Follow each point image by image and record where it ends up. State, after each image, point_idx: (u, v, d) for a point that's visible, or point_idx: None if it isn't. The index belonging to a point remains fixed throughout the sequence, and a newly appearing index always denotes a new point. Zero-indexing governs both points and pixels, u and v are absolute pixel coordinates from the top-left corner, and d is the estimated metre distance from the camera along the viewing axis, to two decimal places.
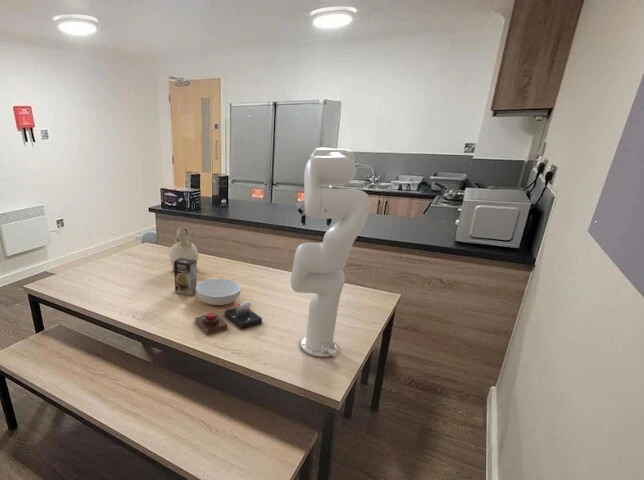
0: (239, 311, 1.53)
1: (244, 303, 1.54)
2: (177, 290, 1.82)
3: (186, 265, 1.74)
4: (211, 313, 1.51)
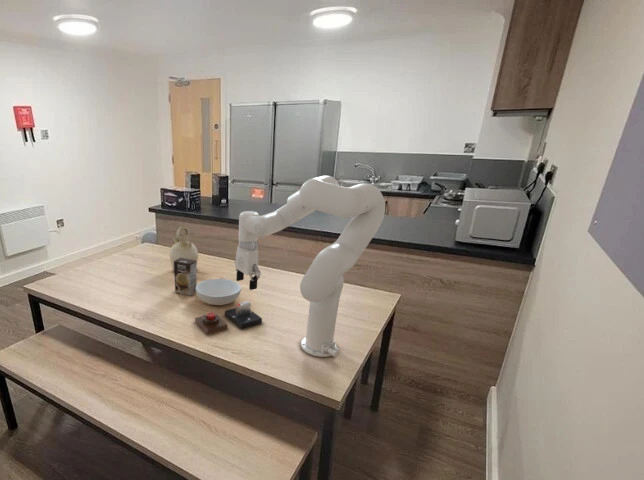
0: (239, 311, 1.53)
1: (244, 303, 1.54)
2: (177, 290, 1.82)
3: (186, 265, 1.74)
4: (211, 313, 1.51)
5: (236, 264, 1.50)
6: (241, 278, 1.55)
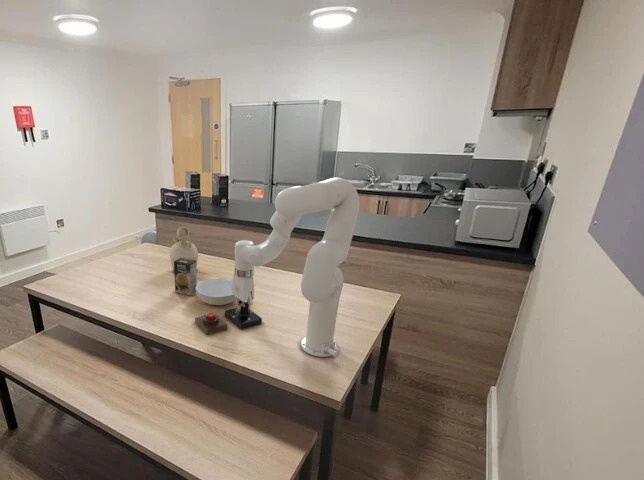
0: (239, 311, 1.53)
1: None
2: (177, 290, 1.82)
3: (186, 265, 1.74)
4: (211, 313, 1.51)
5: (233, 290, 1.54)
6: None
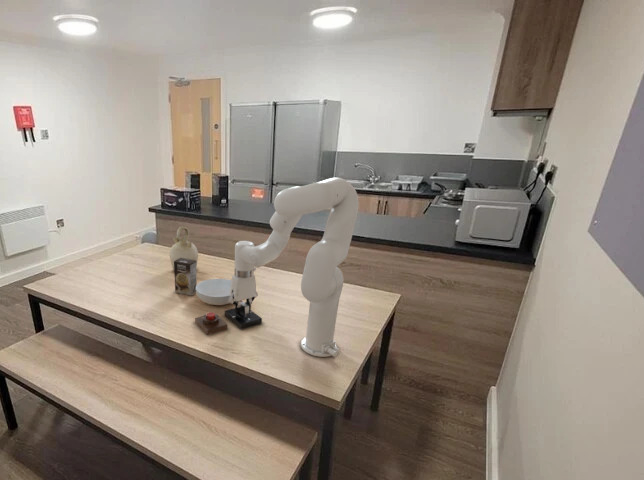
0: None
1: (243, 304, 1.54)
2: (177, 290, 1.82)
3: (186, 265, 1.74)
4: (211, 313, 1.51)
5: None
6: None
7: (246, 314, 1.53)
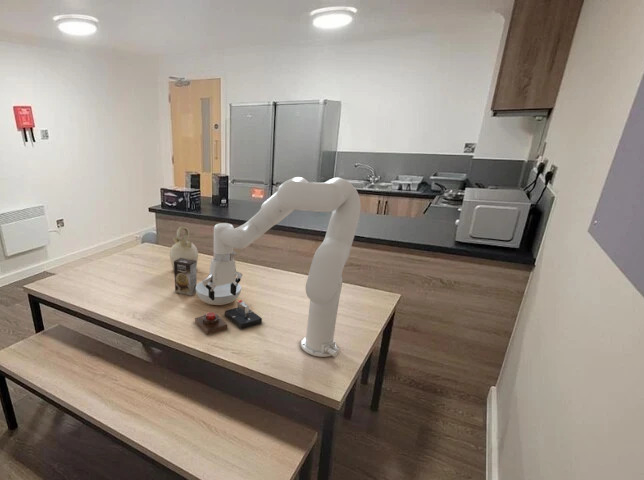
0: (237, 307, 1.57)
1: (243, 304, 1.54)
2: (177, 290, 1.82)
3: (186, 265, 1.74)
4: (211, 313, 1.51)
5: None
6: (232, 292, 1.51)
7: (246, 314, 1.53)
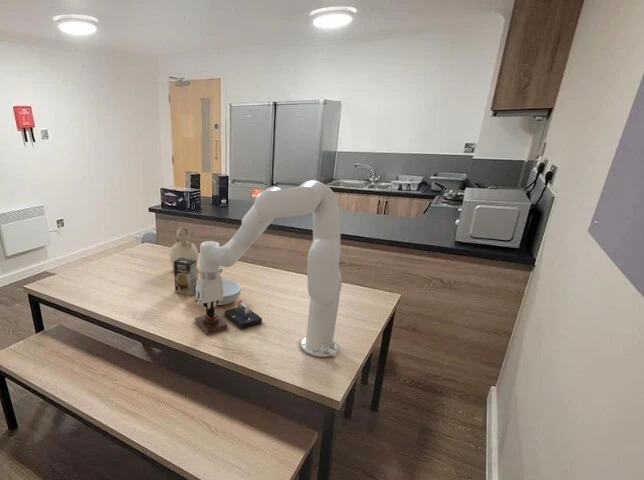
0: (237, 307, 1.57)
1: (243, 304, 1.54)
2: (177, 290, 1.82)
3: (186, 265, 1.74)
4: None
5: None
6: None
7: (246, 314, 1.53)
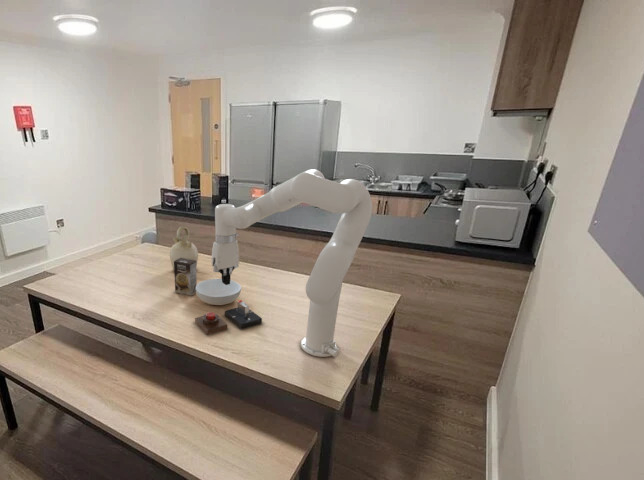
0: (237, 307, 1.57)
1: (243, 304, 1.54)
2: (177, 290, 1.82)
3: (186, 265, 1.74)
4: (211, 313, 1.51)
5: None
6: None
7: (246, 314, 1.53)
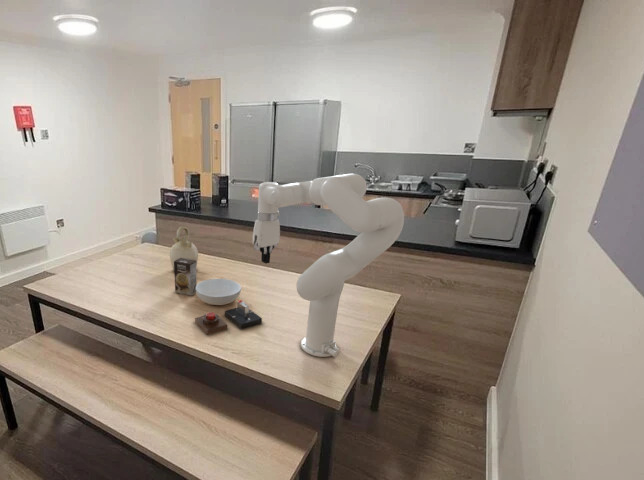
0: (237, 307, 1.57)
1: (243, 304, 1.54)
2: (177, 290, 1.82)
3: (186, 265, 1.74)
4: (211, 313, 1.51)
5: None
6: None
7: (246, 314, 1.53)
